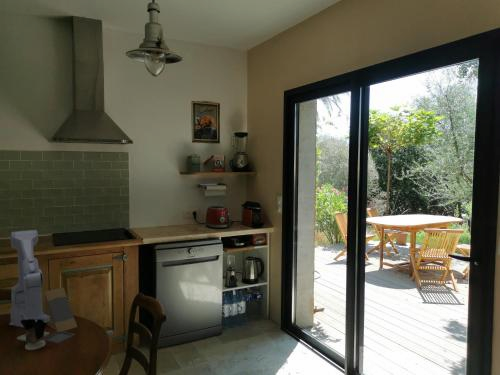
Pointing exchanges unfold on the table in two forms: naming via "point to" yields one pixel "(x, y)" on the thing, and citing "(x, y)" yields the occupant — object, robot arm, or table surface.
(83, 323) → the table surface
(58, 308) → the sandwich container
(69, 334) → the grey square tile
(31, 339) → the walnut cube
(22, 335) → the pale green square tile
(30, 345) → the coaster
